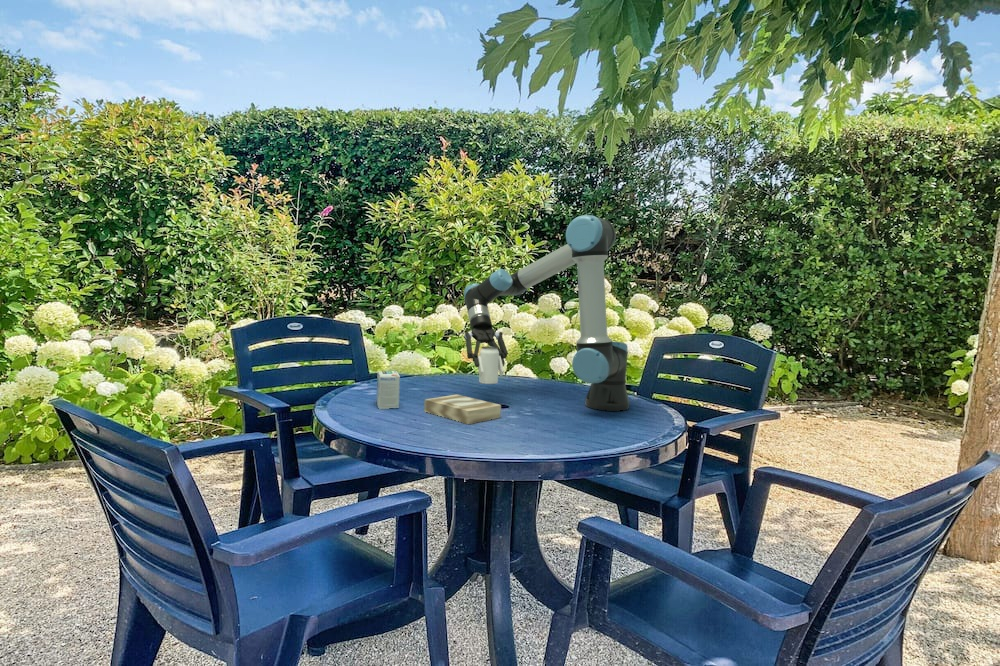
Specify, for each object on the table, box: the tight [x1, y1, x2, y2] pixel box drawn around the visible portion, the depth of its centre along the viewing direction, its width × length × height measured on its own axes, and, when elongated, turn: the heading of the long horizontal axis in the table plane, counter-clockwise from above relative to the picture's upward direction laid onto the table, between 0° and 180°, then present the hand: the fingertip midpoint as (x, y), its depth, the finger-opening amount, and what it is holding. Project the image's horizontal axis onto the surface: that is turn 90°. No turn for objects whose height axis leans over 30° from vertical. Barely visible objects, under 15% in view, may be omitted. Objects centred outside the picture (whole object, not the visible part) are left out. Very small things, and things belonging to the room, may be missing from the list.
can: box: [478, 346, 499, 385], centre depth 204 cm, size 6×6×12 cm
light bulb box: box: [376, 370, 401, 410], centre depth 199 cm, size 11×7×11 cm, turn 15°
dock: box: [423, 394, 502, 425], centre depth 191 cm, size 20×14×4 cm
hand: (491, 373), depth 201 cm, fingers closed on can, 6 cm apart
